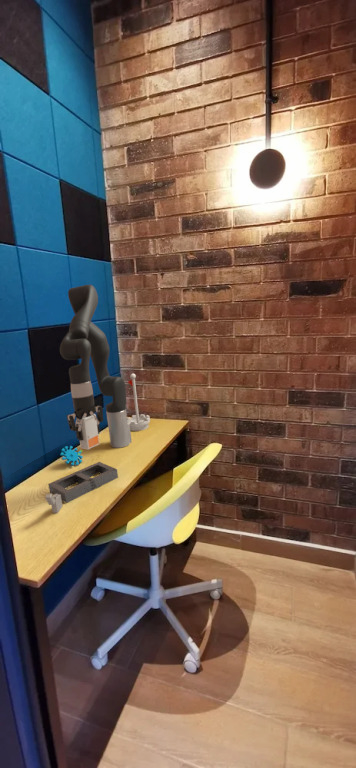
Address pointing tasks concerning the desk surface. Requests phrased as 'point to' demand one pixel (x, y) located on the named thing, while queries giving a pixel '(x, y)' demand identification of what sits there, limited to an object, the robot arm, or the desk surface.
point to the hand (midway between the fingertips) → (88, 436)
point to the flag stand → (137, 421)
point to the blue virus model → (71, 455)
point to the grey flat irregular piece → (54, 502)
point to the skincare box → (89, 432)
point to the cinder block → (83, 481)
